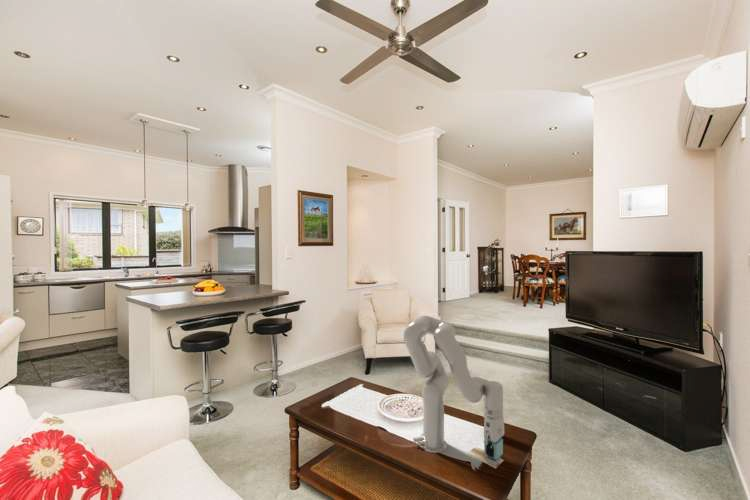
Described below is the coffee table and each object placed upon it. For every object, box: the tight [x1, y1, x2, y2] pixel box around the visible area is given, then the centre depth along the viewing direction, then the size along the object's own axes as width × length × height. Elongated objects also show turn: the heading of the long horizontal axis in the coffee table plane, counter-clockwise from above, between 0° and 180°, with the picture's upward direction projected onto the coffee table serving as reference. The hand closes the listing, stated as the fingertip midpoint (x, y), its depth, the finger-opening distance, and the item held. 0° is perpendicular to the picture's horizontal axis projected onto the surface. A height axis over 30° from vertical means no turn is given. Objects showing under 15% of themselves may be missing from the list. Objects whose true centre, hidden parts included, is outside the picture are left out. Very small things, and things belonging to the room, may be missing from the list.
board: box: [466, 445, 504, 469], centre depth 150 cm, size 8×14×1 cm, turn 43°
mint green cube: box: [483, 437, 504, 460], centre depth 147 cm, size 6×6×6 cm
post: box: [485, 455, 502, 466], centre depth 147 cm, size 5×5×7 cm
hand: (493, 451), depth 147 cm, fingers closed on mint green cube, 5 cm apart
